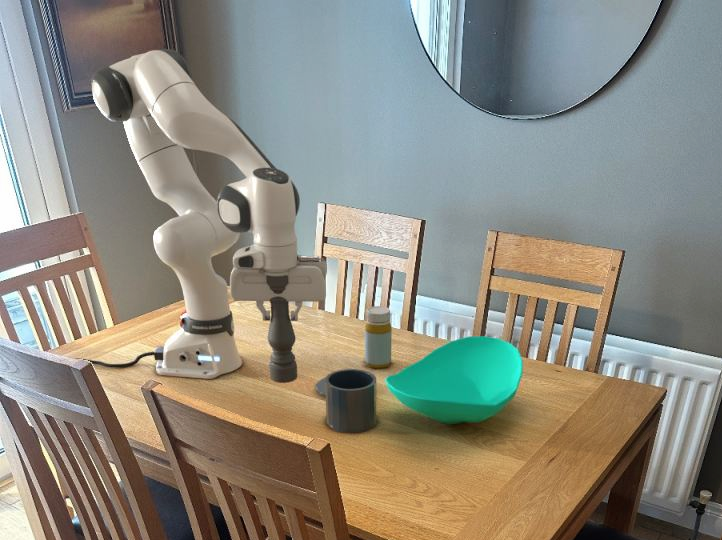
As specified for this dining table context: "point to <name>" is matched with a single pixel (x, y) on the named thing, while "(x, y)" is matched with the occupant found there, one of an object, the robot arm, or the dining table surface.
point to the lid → (321, 386)
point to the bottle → (378, 337)
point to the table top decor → (461, 380)
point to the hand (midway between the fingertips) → (280, 320)
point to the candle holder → (281, 334)
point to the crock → (350, 400)
